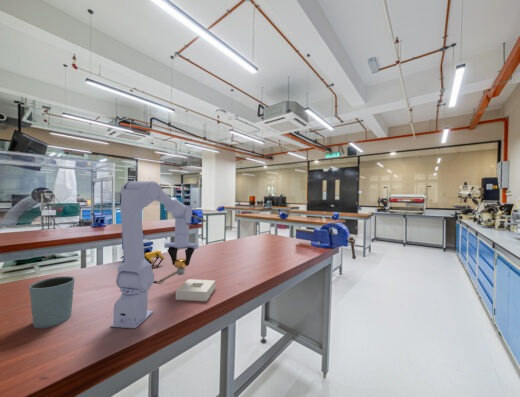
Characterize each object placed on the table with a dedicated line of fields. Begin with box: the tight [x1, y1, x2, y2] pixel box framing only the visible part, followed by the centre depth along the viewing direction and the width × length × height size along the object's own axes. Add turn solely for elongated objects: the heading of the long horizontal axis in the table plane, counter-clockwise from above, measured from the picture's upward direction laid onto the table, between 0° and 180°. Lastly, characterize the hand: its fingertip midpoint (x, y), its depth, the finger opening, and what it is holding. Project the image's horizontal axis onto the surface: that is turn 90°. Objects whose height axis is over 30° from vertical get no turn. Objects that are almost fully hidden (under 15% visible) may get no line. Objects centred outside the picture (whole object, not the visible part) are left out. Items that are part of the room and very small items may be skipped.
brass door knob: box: [174, 258, 187, 276], centre depth 94 cm, size 5×5×6 cm
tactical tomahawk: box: [153, 270, 177, 285], centre depth 108 cm, size 21×7×1 cm, turn 166°
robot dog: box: [144, 249, 165, 268], centre depth 119 cm, size 6×18×13 cm, turn 154°
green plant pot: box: [28, 275, 76, 329], centre depth 67 cm, size 10×10×12 cm
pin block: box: [175, 278, 216, 302], centre depth 89 cm, size 12×12×4 cm
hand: (181, 264), depth 94 cm, fingers closed on brass door knob, 5 cm apart
